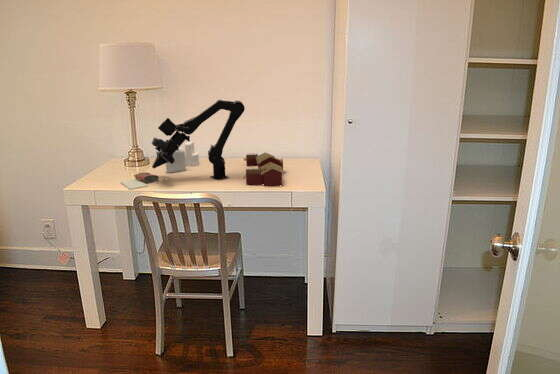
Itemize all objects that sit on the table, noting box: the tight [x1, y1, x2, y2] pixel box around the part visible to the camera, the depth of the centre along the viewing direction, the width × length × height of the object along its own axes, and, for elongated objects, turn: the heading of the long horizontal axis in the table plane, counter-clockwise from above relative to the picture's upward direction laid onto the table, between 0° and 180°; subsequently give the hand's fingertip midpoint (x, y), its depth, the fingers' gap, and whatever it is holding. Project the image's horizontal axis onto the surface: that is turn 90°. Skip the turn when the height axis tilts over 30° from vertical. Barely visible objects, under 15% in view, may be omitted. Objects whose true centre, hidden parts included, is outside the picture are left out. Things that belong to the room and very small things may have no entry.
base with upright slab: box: [184, 140, 200, 168], centre depth 254 cm, size 9×9×12 cm
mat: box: [119, 178, 149, 191], centre depth 221 cm, size 14×8×1 cm, turn 36°
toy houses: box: [242, 152, 285, 187], centre depth 237 cm, size 45×20×10 cm, turn 6°
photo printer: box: [165, 147, 187, 174], centre depth 242 cm, size 10×4×12 cm, turn 123°
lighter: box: [134, 172, 160, 183], centre depth 227 cm, size 8×3×10 cm
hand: (152, 167), depth 222 cm, fingers closed
